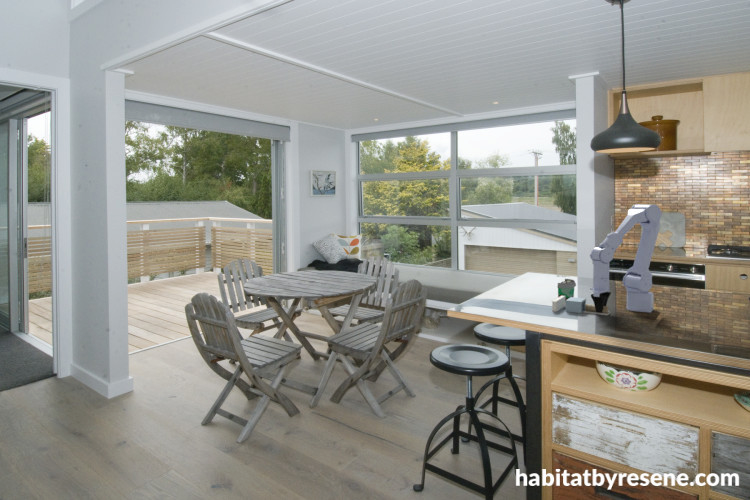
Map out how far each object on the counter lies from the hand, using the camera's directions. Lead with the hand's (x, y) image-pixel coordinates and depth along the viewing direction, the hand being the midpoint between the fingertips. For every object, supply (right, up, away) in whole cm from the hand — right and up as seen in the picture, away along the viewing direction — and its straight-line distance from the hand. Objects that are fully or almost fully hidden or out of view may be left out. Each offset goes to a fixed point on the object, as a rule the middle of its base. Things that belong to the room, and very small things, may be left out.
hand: (600, 311), depth 187 cm
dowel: (-1, -1, +1) cm, 2 cm away
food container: (-3, 0, +24) cm, 25 cm away
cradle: (-1, -2, +1) cm, 3 cm away
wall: (-13, -2, +11) cm, 16 cm away
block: (-7, -2, +6) cm, 10 cm away
